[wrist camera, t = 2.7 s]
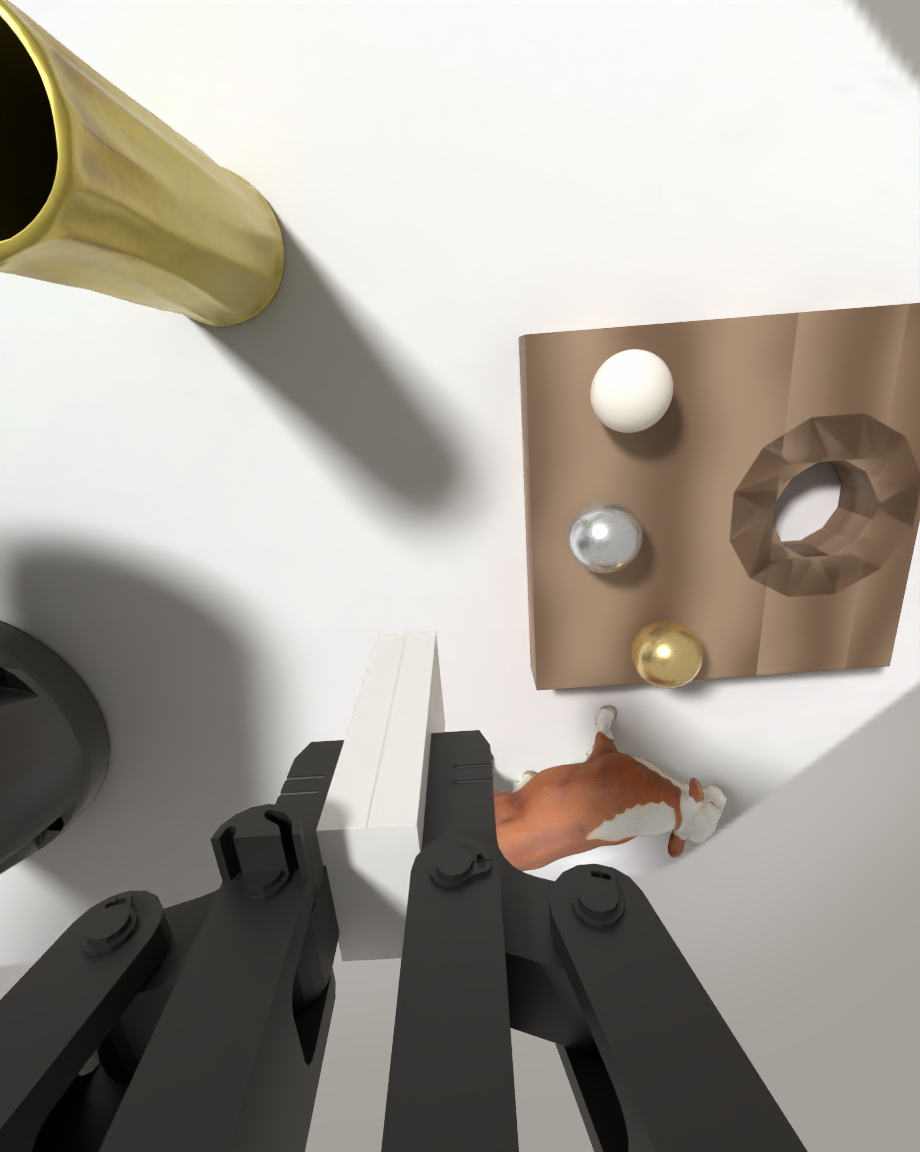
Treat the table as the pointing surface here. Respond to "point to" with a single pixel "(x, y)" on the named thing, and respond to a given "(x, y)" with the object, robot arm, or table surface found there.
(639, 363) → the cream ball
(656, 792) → the bull figurine
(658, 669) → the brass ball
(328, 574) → the table surface
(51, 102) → the vase
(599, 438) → the board
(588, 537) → the steel ball
